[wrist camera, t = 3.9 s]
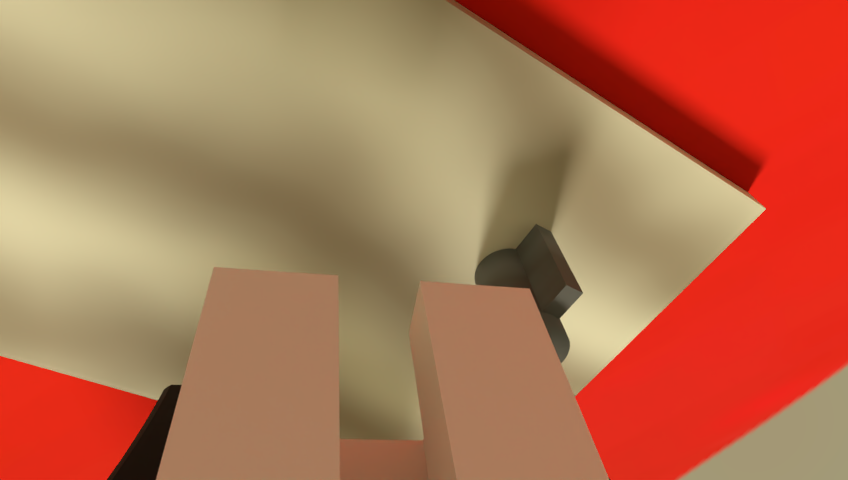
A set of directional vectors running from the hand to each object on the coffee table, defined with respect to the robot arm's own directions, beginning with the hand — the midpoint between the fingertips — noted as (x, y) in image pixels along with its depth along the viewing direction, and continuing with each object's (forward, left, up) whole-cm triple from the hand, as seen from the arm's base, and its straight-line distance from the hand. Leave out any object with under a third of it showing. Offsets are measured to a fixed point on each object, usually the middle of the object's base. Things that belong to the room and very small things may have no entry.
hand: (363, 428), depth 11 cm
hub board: (-2, 0, -9) cm, 9 cm away
